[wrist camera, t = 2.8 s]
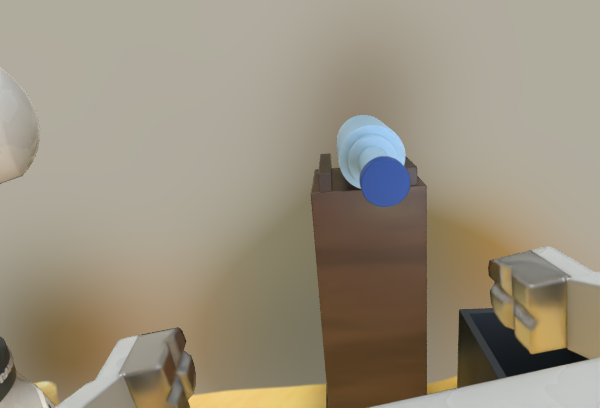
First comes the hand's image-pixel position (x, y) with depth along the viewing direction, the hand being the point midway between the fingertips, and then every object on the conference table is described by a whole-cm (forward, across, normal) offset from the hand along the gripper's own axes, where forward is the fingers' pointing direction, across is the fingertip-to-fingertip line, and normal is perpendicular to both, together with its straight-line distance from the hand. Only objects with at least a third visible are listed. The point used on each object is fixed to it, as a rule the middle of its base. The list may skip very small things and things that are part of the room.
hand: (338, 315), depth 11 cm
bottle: (+21, -5, +3) cm, 22 cm away
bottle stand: (+25, -3, +29) cm, 39 cm away
